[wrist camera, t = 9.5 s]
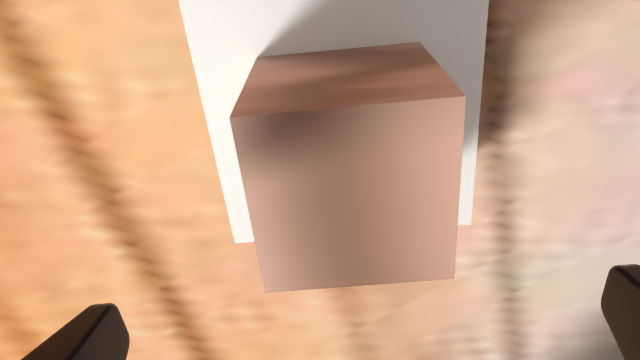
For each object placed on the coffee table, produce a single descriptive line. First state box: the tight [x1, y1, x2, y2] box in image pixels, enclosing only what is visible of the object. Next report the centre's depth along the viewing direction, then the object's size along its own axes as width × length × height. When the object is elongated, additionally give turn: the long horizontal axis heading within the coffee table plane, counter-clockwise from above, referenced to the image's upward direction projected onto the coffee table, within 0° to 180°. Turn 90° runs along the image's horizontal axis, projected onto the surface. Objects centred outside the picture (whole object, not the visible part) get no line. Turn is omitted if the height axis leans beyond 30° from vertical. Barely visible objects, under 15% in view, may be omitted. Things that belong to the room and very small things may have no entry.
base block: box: [178, 0, 489, 243], centre depth 17 cm, size 9×9×4 cm
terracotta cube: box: [229, 42, 466, 293], centre depth 13 cm, size 5×5×5 cm
